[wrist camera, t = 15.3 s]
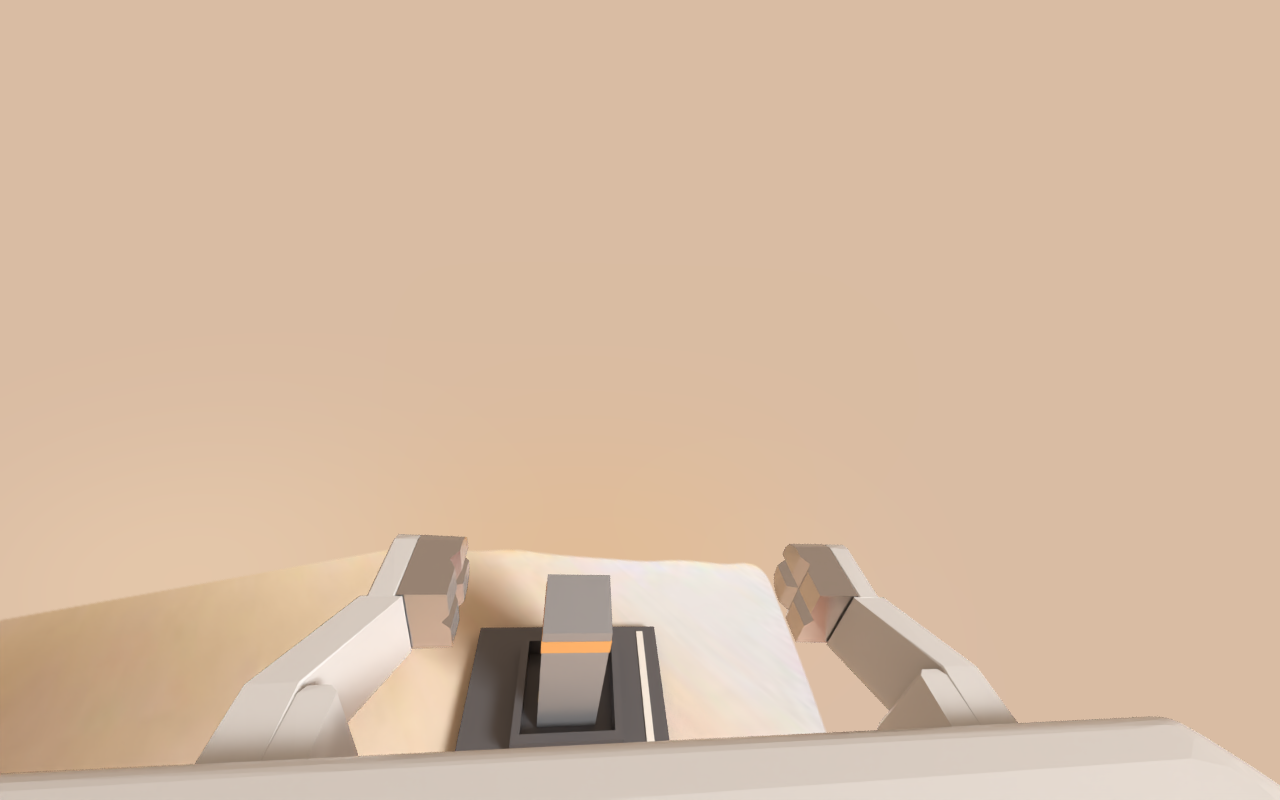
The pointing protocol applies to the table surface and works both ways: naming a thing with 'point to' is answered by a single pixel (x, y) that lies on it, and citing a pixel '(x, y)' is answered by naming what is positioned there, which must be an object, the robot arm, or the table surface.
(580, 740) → the socket
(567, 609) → the plug
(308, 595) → the table surface
